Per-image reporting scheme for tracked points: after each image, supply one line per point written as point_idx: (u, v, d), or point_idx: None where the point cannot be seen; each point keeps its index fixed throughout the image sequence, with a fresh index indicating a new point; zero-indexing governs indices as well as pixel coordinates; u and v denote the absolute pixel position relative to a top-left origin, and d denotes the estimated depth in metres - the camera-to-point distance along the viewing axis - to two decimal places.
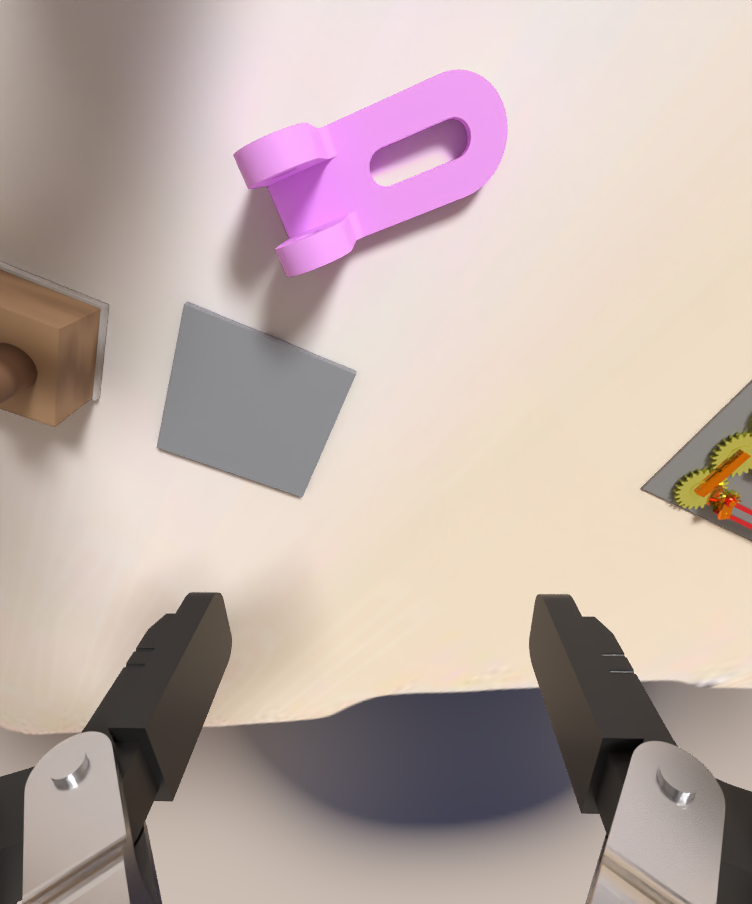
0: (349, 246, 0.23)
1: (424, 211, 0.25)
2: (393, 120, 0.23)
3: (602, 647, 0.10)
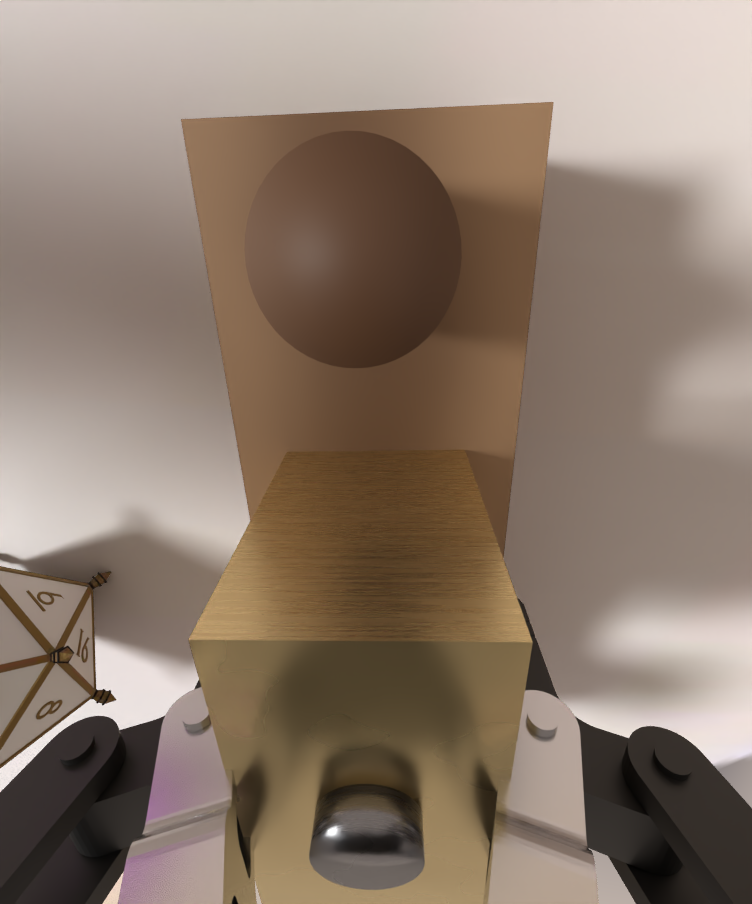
0: None
1: None
2: None
3: None
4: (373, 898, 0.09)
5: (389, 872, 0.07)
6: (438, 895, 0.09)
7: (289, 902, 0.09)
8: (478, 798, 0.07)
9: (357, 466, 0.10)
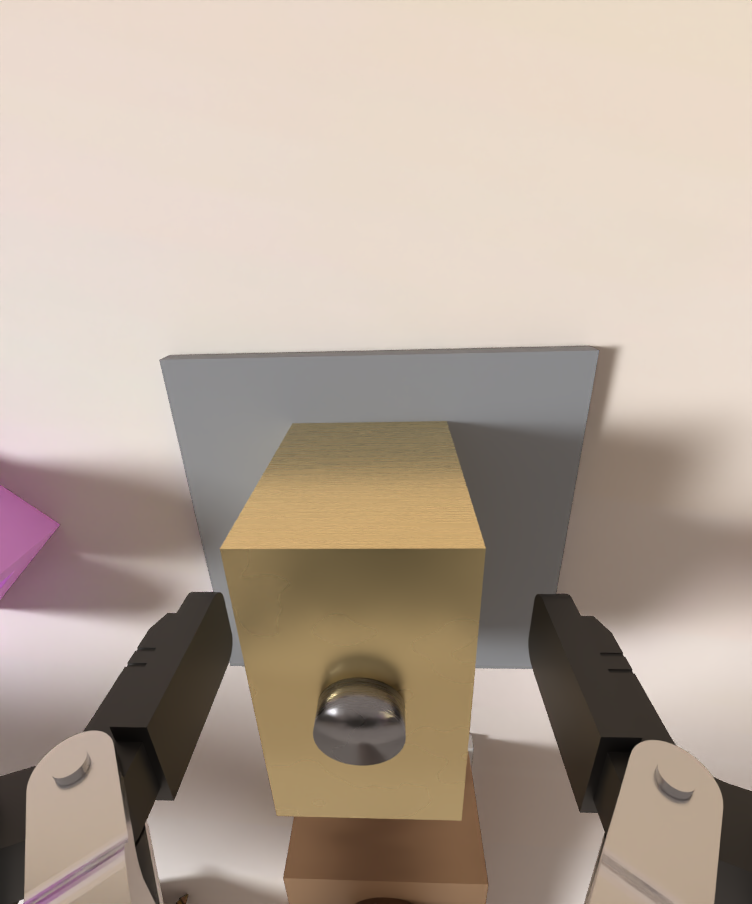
0: None
1: None
2: None
3: (601, 646, 0.10)
4: (366, 789, 0.10)
5: (377, 747, 0.09)
6: (420, 785, 0.10)
7: (295, 793, 0.11)
8: (449, 689, 0.09)
9: (353, 433, 0.12)
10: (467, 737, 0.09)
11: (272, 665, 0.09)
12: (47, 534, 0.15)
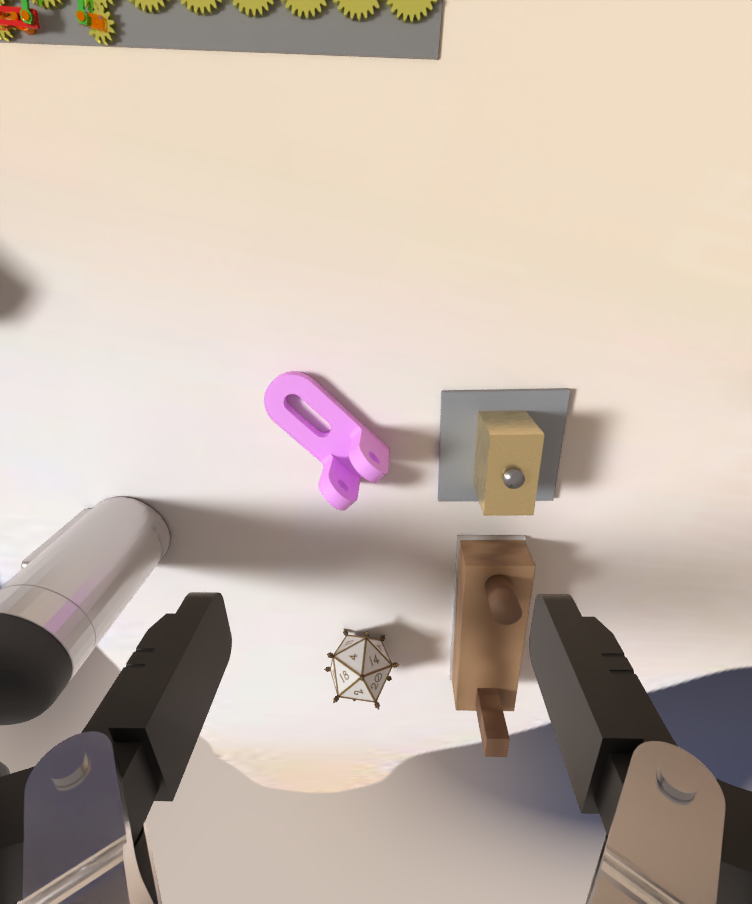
0: (357, 447, 0.40)
1: (330, 400, 0.43)
2: (302, 434, 0.44)
3: (602, 647, 0.10)
4: (509, 504, 0.40)
5: (518, 482, 0.39)
6: (523, 502, 0.40)
7: (490, 506, 0.41)
8: (534, 470, 0.39)
9: (499, 414, 0.42)
10: None
11: (494, 464, 0.39)
12: (388, 450, 0.45)
